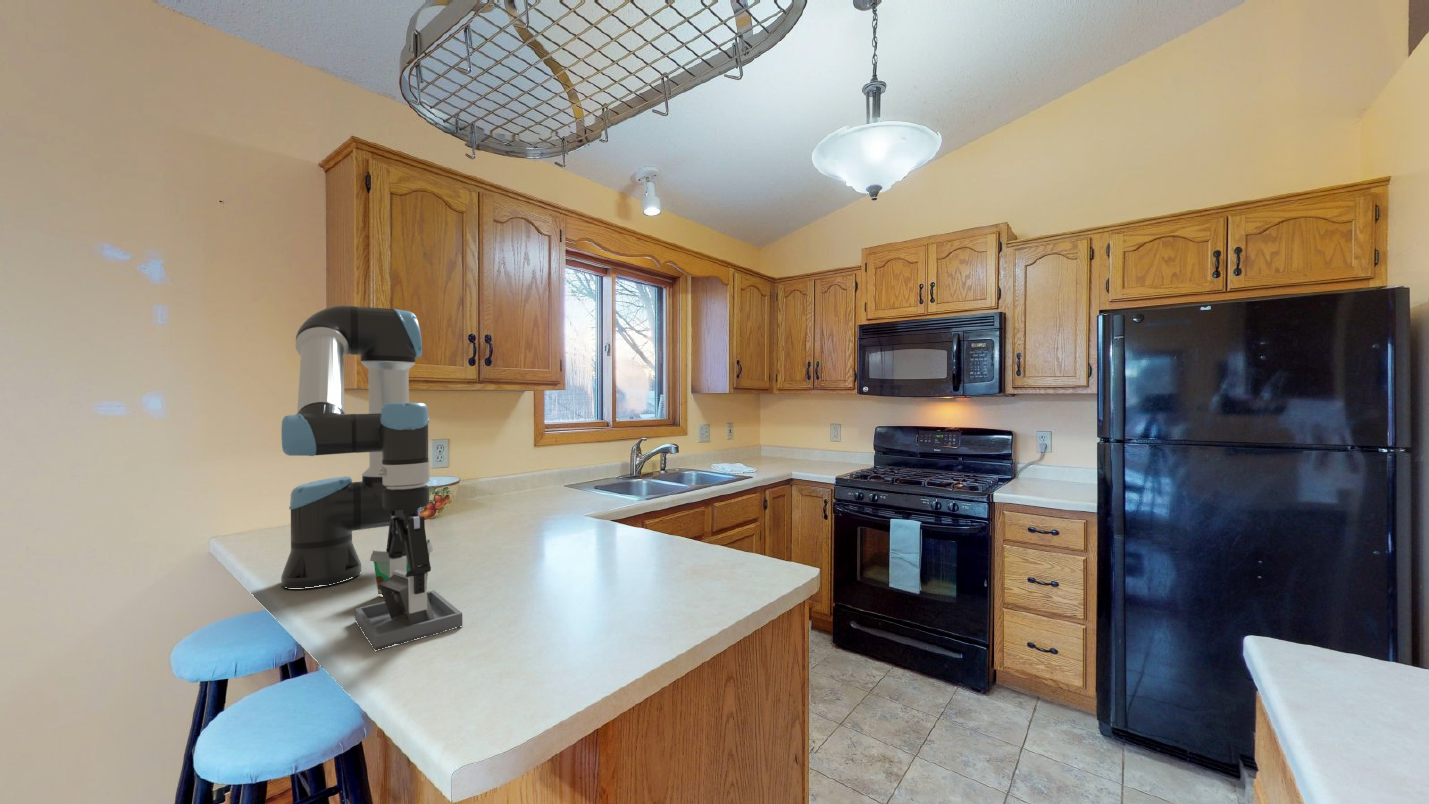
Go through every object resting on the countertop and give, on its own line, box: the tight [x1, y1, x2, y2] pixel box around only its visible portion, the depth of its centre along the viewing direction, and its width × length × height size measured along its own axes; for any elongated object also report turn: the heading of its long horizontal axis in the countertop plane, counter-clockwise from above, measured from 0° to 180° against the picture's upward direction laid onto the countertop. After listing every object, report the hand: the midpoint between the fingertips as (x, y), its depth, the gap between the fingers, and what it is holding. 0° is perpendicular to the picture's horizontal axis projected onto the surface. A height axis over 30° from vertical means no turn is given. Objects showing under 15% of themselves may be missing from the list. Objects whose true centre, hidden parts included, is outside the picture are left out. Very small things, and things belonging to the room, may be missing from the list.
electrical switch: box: [379, 569, 435, 626], centre depth 97 cm, size 9×5×9 cm, turn 56°
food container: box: [369, 538, 434, 595], centre depth 115 cm, size 12×6×10 cm, turn 143°
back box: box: [354, 589, 463, 650], centre depth 98 cm, size 17×14×2 cm
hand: (407, 601), depth 98 cm, fingers open, 13 cm apart
